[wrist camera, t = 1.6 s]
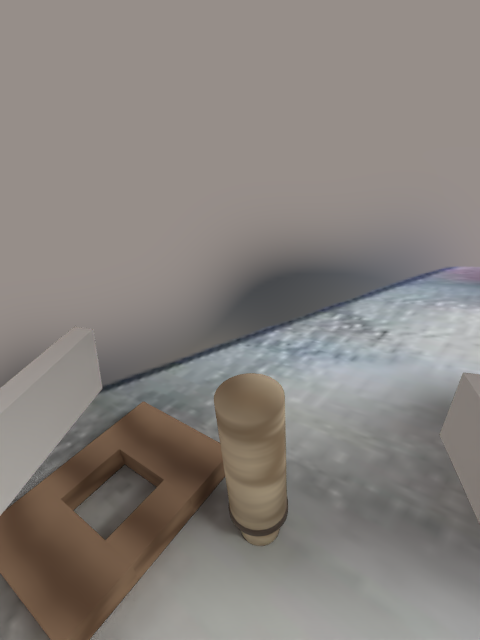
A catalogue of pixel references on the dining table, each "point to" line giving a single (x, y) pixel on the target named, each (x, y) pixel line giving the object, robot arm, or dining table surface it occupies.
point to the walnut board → (84, 542)
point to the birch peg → (254, 454)
